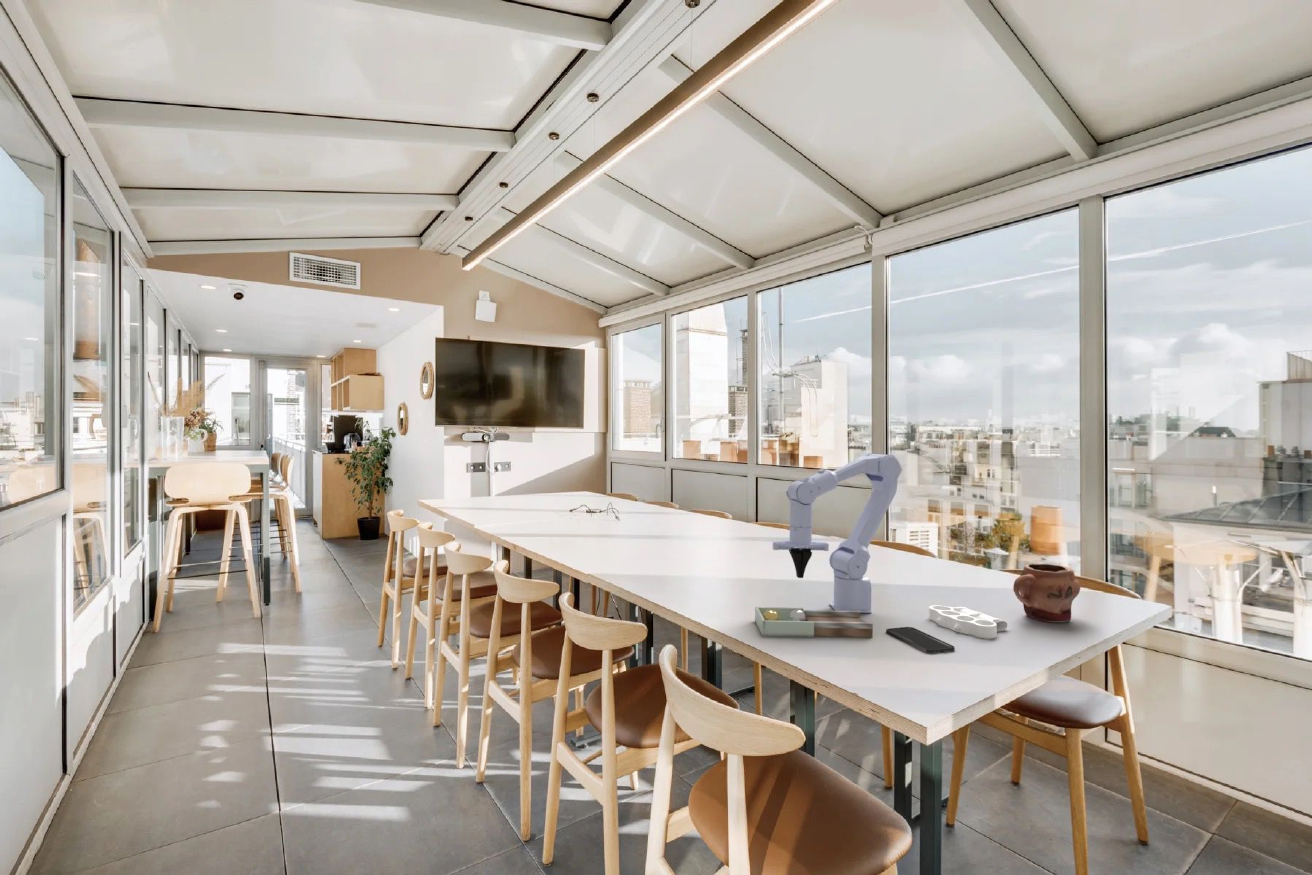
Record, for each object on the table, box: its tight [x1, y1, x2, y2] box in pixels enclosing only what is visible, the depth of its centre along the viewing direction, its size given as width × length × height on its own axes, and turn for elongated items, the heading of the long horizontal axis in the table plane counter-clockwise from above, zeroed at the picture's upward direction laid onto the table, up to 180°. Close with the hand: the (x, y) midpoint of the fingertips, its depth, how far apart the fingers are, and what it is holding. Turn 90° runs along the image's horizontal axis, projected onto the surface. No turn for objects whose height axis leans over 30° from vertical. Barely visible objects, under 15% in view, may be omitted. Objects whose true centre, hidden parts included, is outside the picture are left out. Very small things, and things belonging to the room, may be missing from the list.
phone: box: [885, 626, 955, 655], centre depth 140 cm, size 8×1×15 cm
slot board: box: [803, 609, 874, 638], centre depth 147 cm, size 14×10×3 cm
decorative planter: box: [1012, 563, 1081, 623], centre depth 158 cm, size 20×12×14 cm, turn 112°
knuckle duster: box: [928, 604, 1008, 640], centre depth 152 cm, size 3×18×15 cm
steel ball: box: [789, 609, 806, 621], centre depth 148 cm, size 4×4×4 cm
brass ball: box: [763, 610, 779, 621], centre depth 147 cm, size 4×4×4 cm
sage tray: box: [754, 606, 815, 638], centre depth 147 cm, size 12×12×4 cm
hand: (799, 577), depth 161 cm, fingers closed
